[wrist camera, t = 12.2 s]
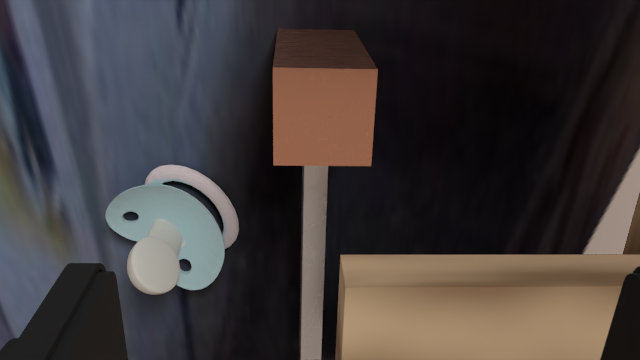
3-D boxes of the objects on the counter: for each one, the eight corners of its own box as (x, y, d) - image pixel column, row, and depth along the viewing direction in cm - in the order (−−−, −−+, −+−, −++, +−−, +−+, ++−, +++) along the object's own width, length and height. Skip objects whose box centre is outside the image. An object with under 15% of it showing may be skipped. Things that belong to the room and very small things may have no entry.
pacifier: (176, 138, 32) (101, 201, 34) (155, 181, 27) (65, 256, 28) (262, 225, 35) (190, 281, 36) (260, 282, 29) (174, 347, 30)
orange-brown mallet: (277, 28, 30) (272, 67, 22) (353, 30, 30) (377, 69, 22) (278, 337, 38) (274, 451, 30) (338, 337, 38) (351, 450, 30)
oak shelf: (327, 173, 33) (345, 287, 23) (676, 176, 35) (845, 285, 24) (322, 327, 38) (334, 482, 27) (631, 325, 39) (757, 472, 29)
